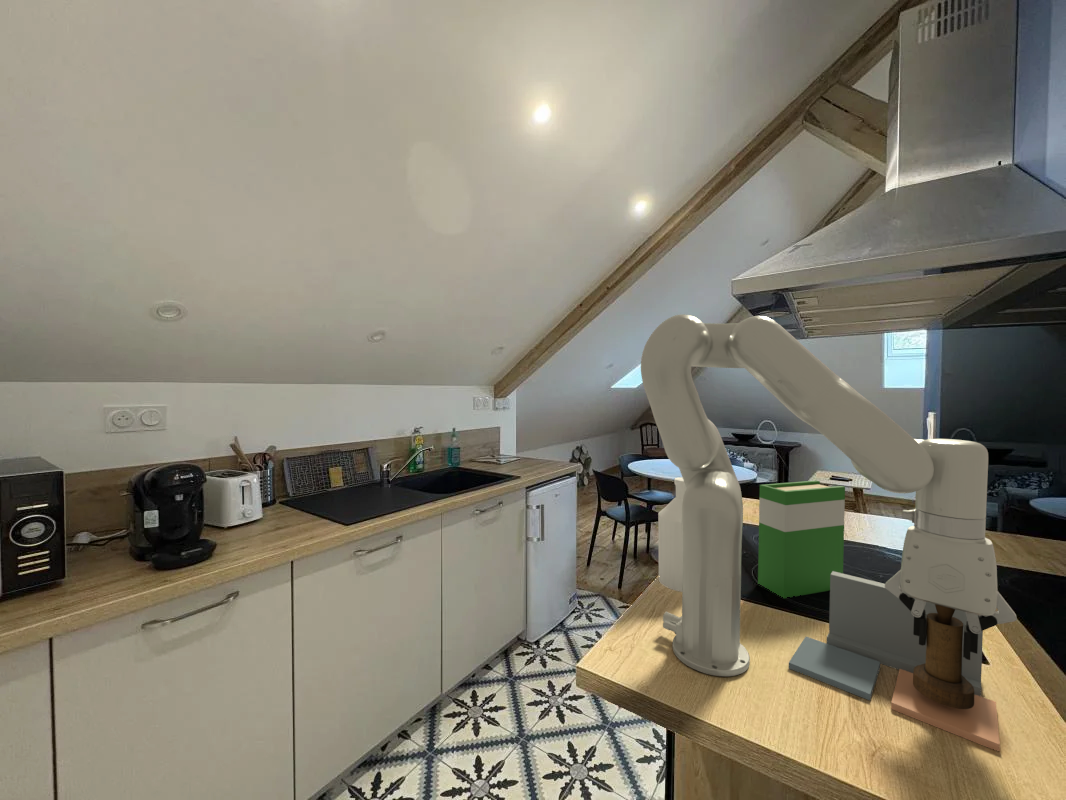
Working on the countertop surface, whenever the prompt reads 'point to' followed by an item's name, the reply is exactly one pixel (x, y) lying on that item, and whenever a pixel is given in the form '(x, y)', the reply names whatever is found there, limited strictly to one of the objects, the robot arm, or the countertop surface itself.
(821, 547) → the hardback book
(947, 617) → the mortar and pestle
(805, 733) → the countertop surface
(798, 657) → the mat bluegrey
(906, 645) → the upright grey panel
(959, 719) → the tile terracotta
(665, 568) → the bottle
